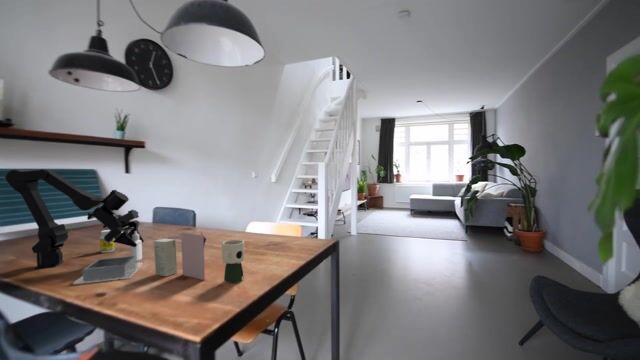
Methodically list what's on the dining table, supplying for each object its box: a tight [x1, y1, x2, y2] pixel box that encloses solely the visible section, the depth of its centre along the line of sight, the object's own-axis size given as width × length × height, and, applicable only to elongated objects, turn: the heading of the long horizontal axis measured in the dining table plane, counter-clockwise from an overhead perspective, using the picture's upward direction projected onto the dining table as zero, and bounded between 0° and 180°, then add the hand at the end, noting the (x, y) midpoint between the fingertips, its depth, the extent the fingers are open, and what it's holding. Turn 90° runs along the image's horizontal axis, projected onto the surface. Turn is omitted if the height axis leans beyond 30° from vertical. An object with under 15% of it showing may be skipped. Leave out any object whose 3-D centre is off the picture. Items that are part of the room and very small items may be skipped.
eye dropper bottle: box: [129, 231, 143, 263], centre depth 118 cm, size 4×6×12 cm
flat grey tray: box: [72, 255, 144, 286], centre depth 103 cm, size 16×16×4 cm
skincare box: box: [153, 237, 178, 277], centre depth 102 cm, size 6×4×12 cm
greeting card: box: [181, 230, 207, 281], centre depth 99 cm, size 11×7×15 cm, turn 26°
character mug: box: [221, 239, 246, 283], centre depth 95 cm, size 11×7×13 cm, turn 171°
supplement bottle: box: [99, 229, 115, 254], centre depth 132 cm, size 5×5×10 cm
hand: (139, 244), depth 119 cm, fingers open, 6 cm apart
